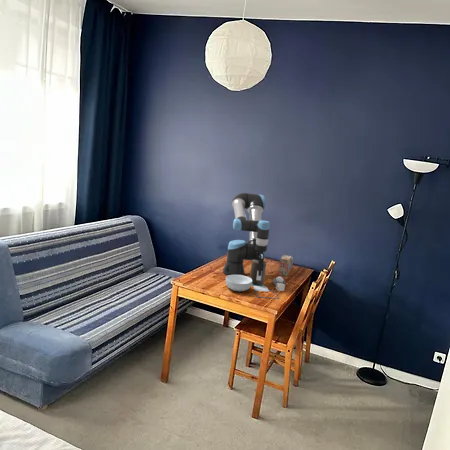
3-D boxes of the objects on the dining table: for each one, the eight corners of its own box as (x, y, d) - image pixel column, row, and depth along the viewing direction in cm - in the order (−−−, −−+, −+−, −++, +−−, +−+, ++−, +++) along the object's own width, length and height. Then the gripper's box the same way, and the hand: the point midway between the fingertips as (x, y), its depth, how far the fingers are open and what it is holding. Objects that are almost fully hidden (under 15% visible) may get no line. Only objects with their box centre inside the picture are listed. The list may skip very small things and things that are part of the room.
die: (278, 291, 264) (279, 285, 264) (275, 288, 268) (276, 282, 267) (284, 290, 266) (284, 284, 265) (281, 288, 269) (282, 282, 269)
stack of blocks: (283, 267, 319) (286, 251, 317) (292, 269, 317) (294, 253, 315) (277, 274, 299) (280, 258, 297) (286, 276, 297) (288, 259, 295)
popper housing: (275, 285, 274) (275, 282, 274) (272, 281, 281) (273, 278, 280) (285, 286, 275) (285, 282, 274) (283, 282, 282) (283, 279, 281)
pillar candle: (252, 283, 267) (255, 261, 264) (247, 278, 276) (250, 257, 273) (266, 284, 270) (269, 262, 267) (260, 279, 279) (263, 257, 276)
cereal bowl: (223, 283, 266) (224, 273, 265) (249, 285, 268) (250, 275, 266) (225, 293, 250) (226, 282, 248) (252, 295, 251) (254, 284, 250)
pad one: (255, 290, 260) (255, 290, 260) (253, 286, 268) (253, 285, 268) (269, 291, 261) (269, 291, 261) (266, 287, 269) (266, 286, 269)
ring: (257, 297, 249) (257, 296, 249) (254, 289, 261) (254, 289, 261) (278, 298, 250) (278, 298, 250) (274, 291, 263) (274, 290, 263)
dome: (276, 284, 275) (277, 277, 274) (274, 281, 280) (275, 275, 279) (283, 284, 276) (284, 278, 275) (282, 282, 280) (282, 275, 280)
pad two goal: (250, 285, 268) (250, 285, 268) (248, 281, 277) (248, 280, 277) (264, 286, 269) (264, 286, 269) (261, 282, 278) (262, 281, 278)
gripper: (270, 249, 258) (266, 283, 262) (263, 240, 279) (259, 272, 284) (258, 248, 257) (254, 282, 261) (252, 239, 278) (249, 271, 283)
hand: (257, 277), depth 272 cm, fingers closed on pillar candle, 10 cm apart
